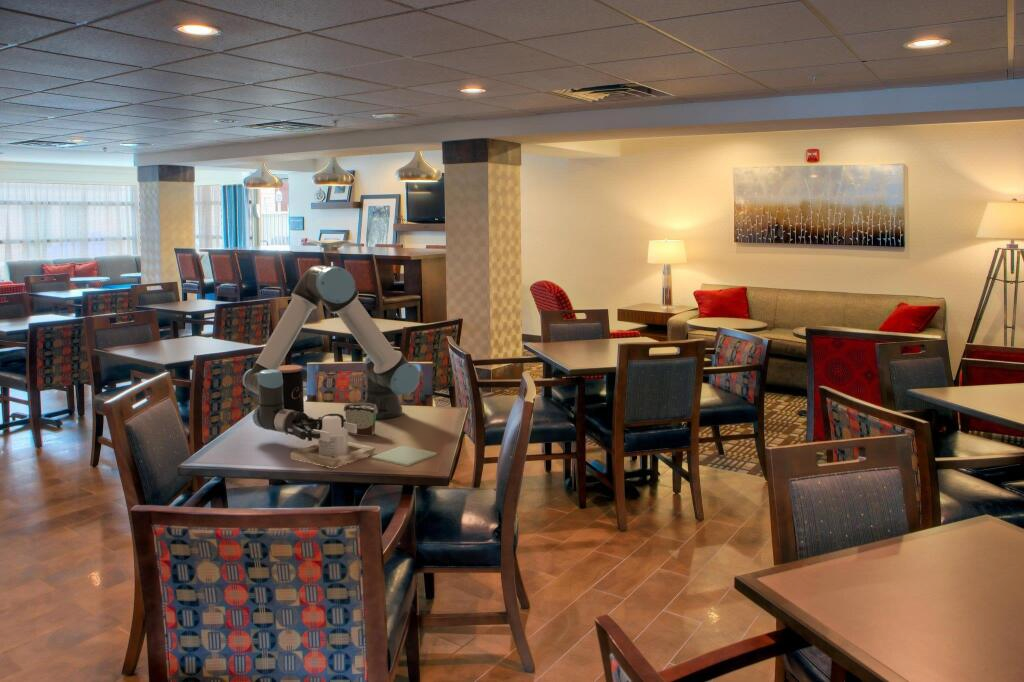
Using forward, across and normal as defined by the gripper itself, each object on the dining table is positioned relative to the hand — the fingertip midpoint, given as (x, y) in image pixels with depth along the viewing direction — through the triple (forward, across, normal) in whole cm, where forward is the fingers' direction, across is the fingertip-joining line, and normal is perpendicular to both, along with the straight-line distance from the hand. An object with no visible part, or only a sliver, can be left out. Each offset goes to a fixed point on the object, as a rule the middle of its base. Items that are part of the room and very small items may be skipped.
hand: (342, 432), depth 230 cm
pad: (+14, -12, -8) cm, 20 cm away
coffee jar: (-56, -28, -8) cm, 63 cm away
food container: (-15, -25, -8) cm, 30 cm away
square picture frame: (-4, 0, -8) cm, 9 cm away
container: (-4, 0, -8) cm, 9 cm away
